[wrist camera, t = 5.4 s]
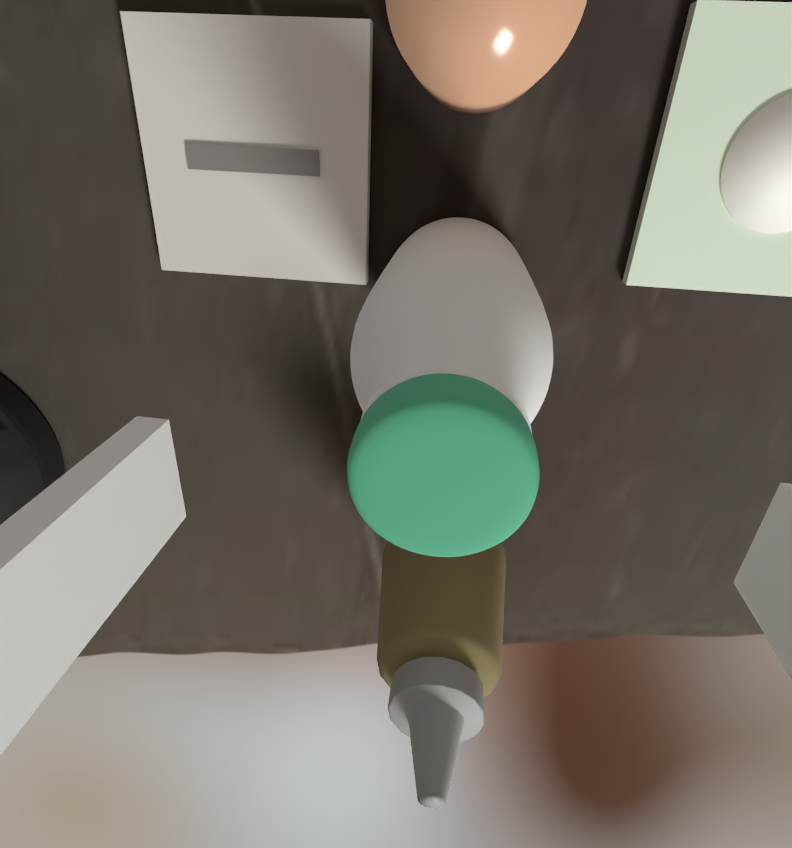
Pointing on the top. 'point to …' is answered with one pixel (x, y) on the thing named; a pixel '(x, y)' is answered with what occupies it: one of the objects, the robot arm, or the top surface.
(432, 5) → the rounded peach cylinder
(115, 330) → the top surface
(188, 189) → the tile
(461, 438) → the milk bottle
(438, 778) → the squeeze bottle
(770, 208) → the tile
